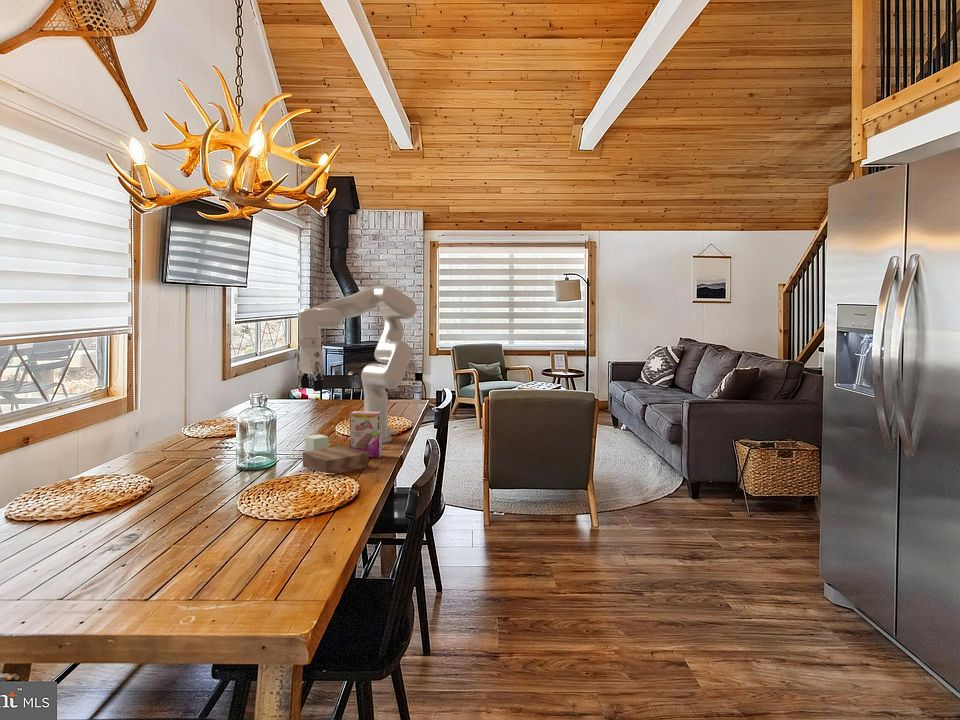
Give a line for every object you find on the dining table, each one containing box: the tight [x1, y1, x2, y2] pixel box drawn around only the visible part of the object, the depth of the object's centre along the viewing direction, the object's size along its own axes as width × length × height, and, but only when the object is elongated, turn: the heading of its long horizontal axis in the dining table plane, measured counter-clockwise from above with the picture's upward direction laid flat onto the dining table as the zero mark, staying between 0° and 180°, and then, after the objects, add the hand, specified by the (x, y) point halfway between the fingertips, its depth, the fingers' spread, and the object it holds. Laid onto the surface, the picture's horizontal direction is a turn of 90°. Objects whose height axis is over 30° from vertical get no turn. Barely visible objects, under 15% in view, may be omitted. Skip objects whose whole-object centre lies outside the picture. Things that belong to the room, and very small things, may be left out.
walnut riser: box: [302, 444, 369, 475], centre depth 216 cm, size 16×16×5 cm
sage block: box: [305, 433, 329, 452], centre depth 233 cm, size 6×6×7 cm
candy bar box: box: [349, 410, 383, 459], centre depth 231 cm, size 11×5×16 cm, turn 84°
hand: (311, 389), depth 231 cm, fingers open, 9 cm apart
